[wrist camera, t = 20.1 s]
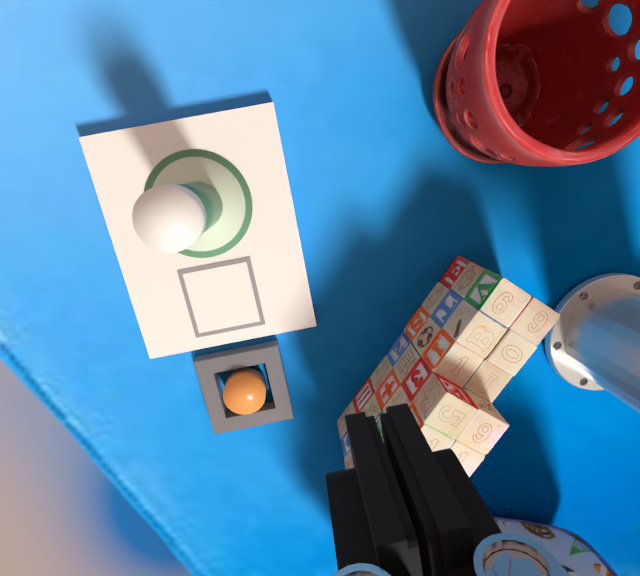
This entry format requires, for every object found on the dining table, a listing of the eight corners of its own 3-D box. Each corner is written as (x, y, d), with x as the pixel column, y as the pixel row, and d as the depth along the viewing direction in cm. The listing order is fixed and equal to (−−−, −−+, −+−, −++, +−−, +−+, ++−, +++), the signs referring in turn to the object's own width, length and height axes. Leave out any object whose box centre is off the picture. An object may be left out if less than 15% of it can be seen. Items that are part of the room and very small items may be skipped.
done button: (261, 363, 41) (260, 373, 39) (270, 399, 42) (269, 410, 40) (221, 371, 41) (218, 381, 39) (231, 406, 42) (228, 418, 40)
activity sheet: (273, 103, 35) (273, 101, 34) (316, 322, 41) (316, 326, 40) (84, 138, 35) (78, 137, 34) (153, 354, 40) (149, 359, 39)
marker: (218, 176, 35) (192, 181, 26) (228, 226, 37) (207, 247, 27) (168, 184, 35) (124, 191, 26) (180, 233, 36) (141, 257, 27)
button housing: (277, 339, 41) (277, 345, 40) (293, 410, 43) (293, 418, 42) (196, 355, 41) (193, 362, 39) (217, 425, 43) (214, 434, 42)
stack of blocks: (456, 252, 40) (527, 286, 28) (505, 284, 41) (592, 330, 30) (335, 421, 44) (353, 513, 32) (383, 446, 45) (417, 544, 34)
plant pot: (570, 149, 38) (693, 140, 27) (431, 182, 38) (494, 187, 27) (562, -13, 35) (700, -105, 23) (408, 22, 34) (469, -52, 23)
